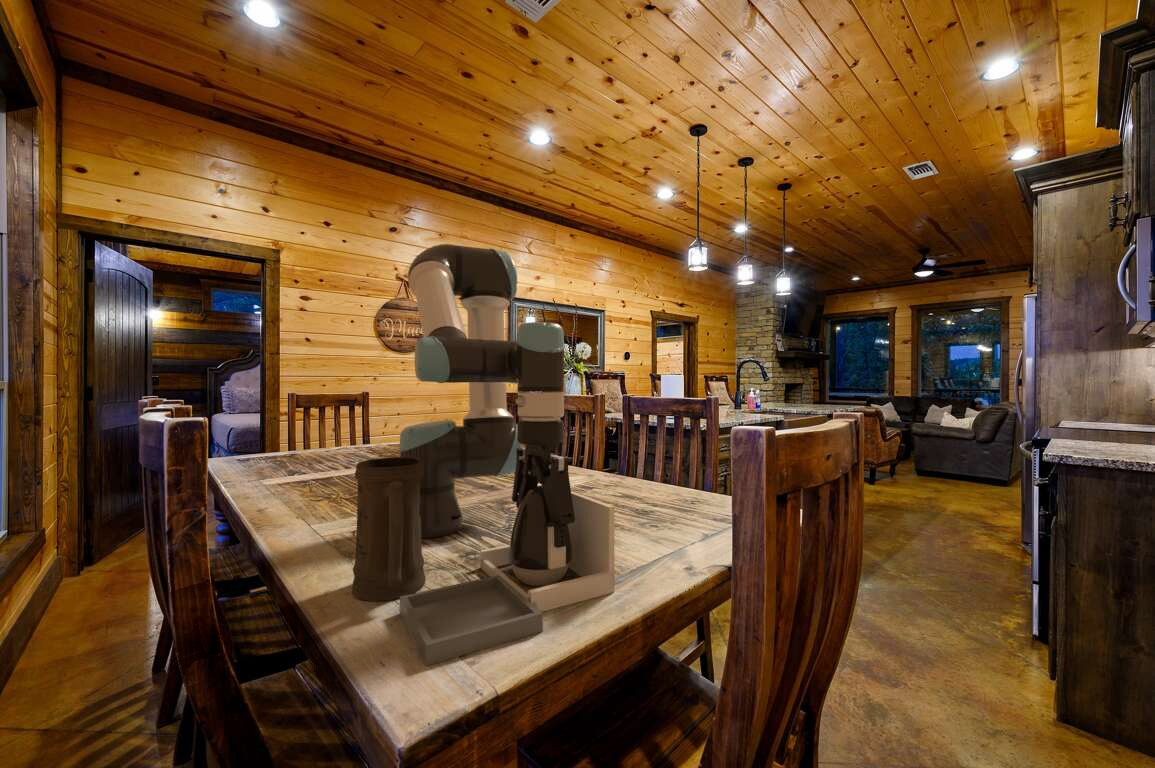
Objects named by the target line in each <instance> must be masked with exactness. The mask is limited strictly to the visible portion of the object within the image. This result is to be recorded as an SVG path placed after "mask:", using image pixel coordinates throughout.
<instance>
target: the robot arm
mask: <svg viewBox="0 0 1155 768" xmlns="http://www.w3.org/2000/svg"><path fill="white" fill-rule="evenodd" d="M514 261H515V260H514V259H513V257H512V255H511V254H509V252H506V251H503V250H498V249H495V248H482V247H474V246H465V245H456V244H450V243H449V244H448V243H445V244H443V243H442V244H438V245H437V244H436V245H433V246H431V247H428V248H426V249H425V250H423V251H422V252H421V253H419V254H417V256H415V258H414V259H413V260H412V261H411V264H410V266H409V269H408V272H407V281H408V286H409V289H410V291H411V293H412V294H413V296H415V299H416V303H417V309H418V315H419V320H420V325H421V331H422V336H423V337H420V338H417V340H416V341H415V345H414V372H415V377H416V379H417V380H418V381H421V382H425V383H426V382H427V383H428V382H429V383H437V384H445V383H446V384H447V383H448V384H449V383H453V384H454V383H455V384H456V383H468V393H469V394H468V395H469V400H468V401H469V405H468V406H469V411H468V412H467V413H466V415H465V416H464V417H463V418H462V422H463V423H462V425H459V426H456V422H455V421H454V420H453V419H451V420H447V419H446V420H436V421H428V422H424V423H418V424H413V425H410V426H406V427H405V428H403V429H402V430H401V432H400V434H399V447H398V452H399V457H406V458H416V459H419V460H421V461H422V465H423V470H424V473H423V475H422V476H421V478H420V502H419V515H420V518H421V539H428V538H436V537H437V538H438V537H442V536H443V537H444V536H446V535H450V534H453V533H455V532H458V531H459V530H461V529H462V528H463V525H464V524H463V513H462V509H461V507H460V503H459V501H458V497H457V496H456V495H457V494H456V491H455V489H456V488H455V487H456V486H455V480H456V479H467V478H480V477H481V478H482V477H498V476H502V475H504V476H505V475H510V474H512V473H514V477H513V478H514V479H513V487H512V494H511V501H512V503H515V505H516V506H515V507H516V508H517V509H518V508H519V506H520V503H521V501H522V499H523V498H524V496H525V494H526V493H527V492H528V491H529V490H530V489H531V488H533V487H536V486H539V485H538V484H540V486H542V488H543V492H544V496H545V500H546V504H547V508H548V513H549V517H550V521H551V522H549V523H548V524H547V526H548V568H549V569H550V570H551V569H555V568H559V567H564V566H566V525H567V524H569V523H574V522H575V516H574V509H573V502H572V495H571V491H572V490H571V489H572V487H571V483H570V482H571V481H570V474H569V457H568V456H567V455H565V456H563V455H562V456H561V455H560V456H559V454H558V449H557V446H558V445H560V444H562V443H564V441H565V438H564V437H565V422H564V420H562V419H561V418H563V417H564V415H565V389H564V386H565V385H564V383H565V375H564V374H565V349H566V346H565V345H566V344H565V338H564V336H565V335H564V329H563V327H562V326H561V325H560V324H558V323H555V322H546V321H545V322H544V321H543V322H542V321H541V322H539V321H536V322H524V323H521V324H520V325H519V326H518V328H517V334H516V335H517V336H516V340H505V313H504V312H505V311H506V309H507V308H508V307H510V304H511V303H510V302H511V300H514V299H515V298H516V294H517V290H518V286H517V285H518V271H517V268H516V264H515V262H514ZM455 296H457V297H460V306H461V307H462V308H464V310H466V313H467V333H466V330H465V327H464V323H463V319H462V316H461V314H460V310H459V307H458V303H457V300H456V298H455ZM507 383H508V384H510V383H511V384H517V398H516V399H515V404H516V405H517V416H518V417H519V418H521V420H518V421H517V423H514V422H515V421H514V415H513V414H512V413H511V412H509V411H508V405H507ZM523 445H525V447H523ZM567 514H568V515H567Z"/></svg>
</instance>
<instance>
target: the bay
mask: <svg viewBox="0 0 1155 768" xmlns="http://www.w3.org/2000/svg"><path fill="white" fill-rule="evenodd" d="M571 495H572V502H573V509H574V516H575V522H574V523H569V524H568V528H569V533H570V539H571V546H572V559H571V561H570V563H569V567H568V569H570V570H572V571H573V572H575V573H576V574H577V575H579V576H580V577H577V578H574V579H573V578H572V579H569V580H568V579H567V580H565V581H561V582H556V583H553V584H551V585H547V586H538V587H536V588H532V589H528V590H527V592H526V591H524V590H523V589H522V588H521V587H520V586H519V585H518V584H516V582H514V581H513V580H512V579H510V578H509V577H508V575H506V574H505V573H503V572H502V571H501V570H500V569H499V568H498V567H501V566H507V565H511V563H510V561H509V546H510V544H509V545H507V544H506V545H502V546H497V547H491V548H486V549H480V554H479V555H480V557H479V559H480V562H479V563H480V564H479V565H480V566H479V567H480V569H481V570H482V571H483V572H484V573H485V574H487V576H488V577H492V576H497V575H500V576H501V577H502V578H503V579H504V580H505V581H506V582H508V583H509V584H510V585H511V586H512V587H513V588H514V589H516V590H517V591H518V592H519V593H520V594H521V595H522V596H524V597H525V598H526V599H527V600H528V601H529V602H530V603H531V604H533V605H534V606H535V607H536V608H537V609H538V610H539V611H541V612H542V613H543V612H546V611H550V610H554V609H558V608H561V607H565V606H569V605H572V604H576V603H577V604H578V603H581V602H584V601H587V600H590V599H591V600H592V599H594V598H597V597H601V596H605V595H609V594H614V593H615V505H611V504H609V503H605V502H603V501H600V500H598V499H594V498H592V497H590V496H586V495H583V494H581V493H578V492H575V491H573V490H571ZM567 515H568V514H567Z"/></svg>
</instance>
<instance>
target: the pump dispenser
mask: <svg viewBox="0 0 1155 768" xmlns="http://www.w3.org/2000/svg"><path fill="white" fill-rule="evenodd" d="M549 522H551V521H550V517H549V513H548V508H547V504H546V500H545V496H544V492H543V488H542V485H537V486H536V487H533V488H531V489H530V490H529V491H528V492H527V493H526V494H525V496H524V498H523V499H522V501H521V503H520V506H519V508H517V512H516V515H515V519H514V522H513V525H512V530H511V534H510V541H509V545H510V546H509V561H510V563H511V564H510V565H511V569H512V571H513V573H514V575H515V577H516V578H517V579H518V580H519V581H520V582H521V583H523V584H525V585H529V586H532V587H544V586H548V585H552V584H556V583H558V582H559V581H561V579H563V577H564V576H565V575H566V573H567V571H568V569H569V568H568V567H569V563H570V561H571V559H572V546H571V539H570V533H569V528H568V524H567V525H566V566H564V567H559V568H555V569H551V570H550V569H549V568H548V526H547V524H548V523H549Z"/></svg>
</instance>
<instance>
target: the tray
mask: <svg viewBox="0 0 1155 768" xmlns="http://www.w3.org/2000/svg"><path fill="white" fill-rule="evenodd" d="M399 615H400V618H401V619H402V621H403V623H404V625H405V626H406V629H407V632H408V633H409V635H410V637H411V638H412V640H413V642H414V644H415V646H416V649H417V651H418V652H419V654H420V657H421V659H422V660H423V662H424V664H425V666H426V667H428V666H431V665H434V664H439V663H442V662H444V661H449V660H451V659H454V658H455V659H456V658H458V657H461V656H465V655H468V654H472V653H474V652H475V653H476V652H478V651H481V650H485V649H489V648H491V647H495V646H499V645H502V644H506V643H508V642H512V641H515V640H518V639H522V638H525V637H529V636H532V635H535V634H539V633H542V632H543V630H544V629H543V628H544V623H543V622H544V615H543V612H541V611H539V610H538V609H537V608H536V607H535V606H534V605H533V604H531V603H530V602H529V601H528V600H527V599H526V598H525V597H524V596H522V595H521V594H520V593H519V592H518V591H517V590H516V589H514V588H513V587H512V586H511V585H510V584H509V583H508V582H506V581H505V580H504V579H503V578H502V577H501V576H500V575H497V576H492V577H490V576H488V577H484V578H480V579H479V578H478V579H475V580H470V581H467V582H466V581H465V582H461V583H457V584H456V583H455V584H452V585H447V586H443V587H437V588H433V589H429V590H424V591H420V592H414V593H412V594H409V595H405V596H400V598H399Z"/></svg>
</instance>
